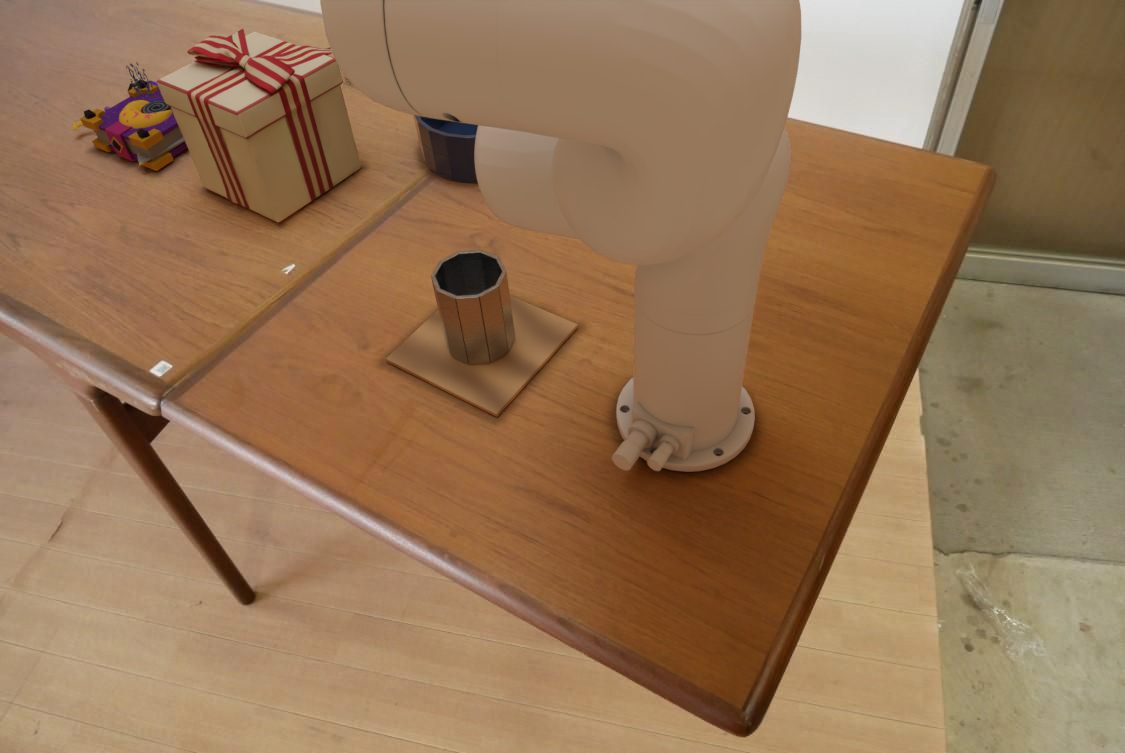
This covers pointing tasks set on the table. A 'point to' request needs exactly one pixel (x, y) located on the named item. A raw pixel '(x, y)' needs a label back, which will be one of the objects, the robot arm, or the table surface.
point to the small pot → (474, 306)
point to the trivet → (494, 380)
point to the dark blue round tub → (448, 148)
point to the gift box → (263, 121)
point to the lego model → (137, 126)
